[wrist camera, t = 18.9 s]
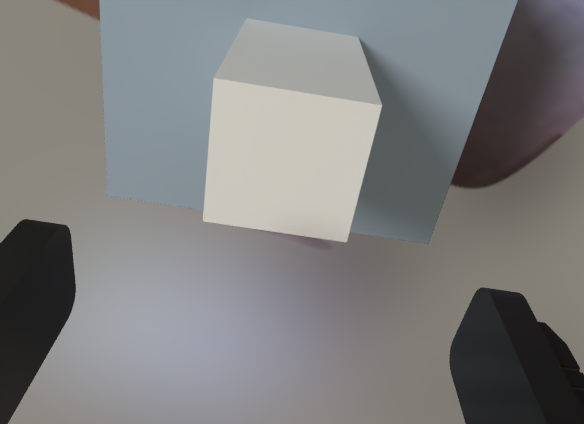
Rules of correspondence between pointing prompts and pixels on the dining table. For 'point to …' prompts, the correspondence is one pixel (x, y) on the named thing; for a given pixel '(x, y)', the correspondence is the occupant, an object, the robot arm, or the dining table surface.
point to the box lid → (318, 16)
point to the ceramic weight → (290, 131)
